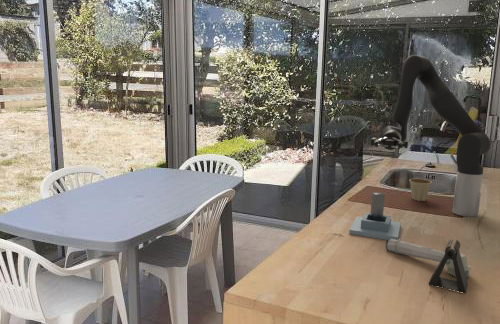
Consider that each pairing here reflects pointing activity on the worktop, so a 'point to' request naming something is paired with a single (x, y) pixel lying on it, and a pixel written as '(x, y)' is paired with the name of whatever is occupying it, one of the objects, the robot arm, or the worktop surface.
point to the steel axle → (377, 206)
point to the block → (375, 227)
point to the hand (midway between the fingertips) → (387, 145)
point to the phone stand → (458, 267)
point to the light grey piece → (424, 254)
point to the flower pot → (419, 189)
